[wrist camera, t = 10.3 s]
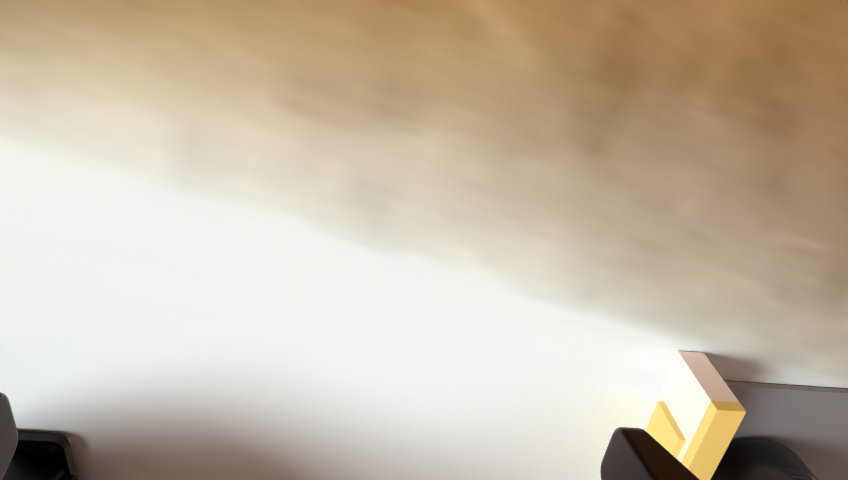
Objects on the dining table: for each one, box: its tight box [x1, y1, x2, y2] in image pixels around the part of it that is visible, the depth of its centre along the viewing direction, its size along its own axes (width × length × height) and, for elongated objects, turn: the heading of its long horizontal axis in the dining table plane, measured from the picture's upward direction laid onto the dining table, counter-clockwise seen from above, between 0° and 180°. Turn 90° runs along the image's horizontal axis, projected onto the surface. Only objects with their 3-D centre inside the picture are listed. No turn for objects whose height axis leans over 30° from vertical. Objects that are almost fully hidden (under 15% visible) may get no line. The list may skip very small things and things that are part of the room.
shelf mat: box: [724, 381, 848, 480], centre depth 30 cm, size 10×12×1 cm
